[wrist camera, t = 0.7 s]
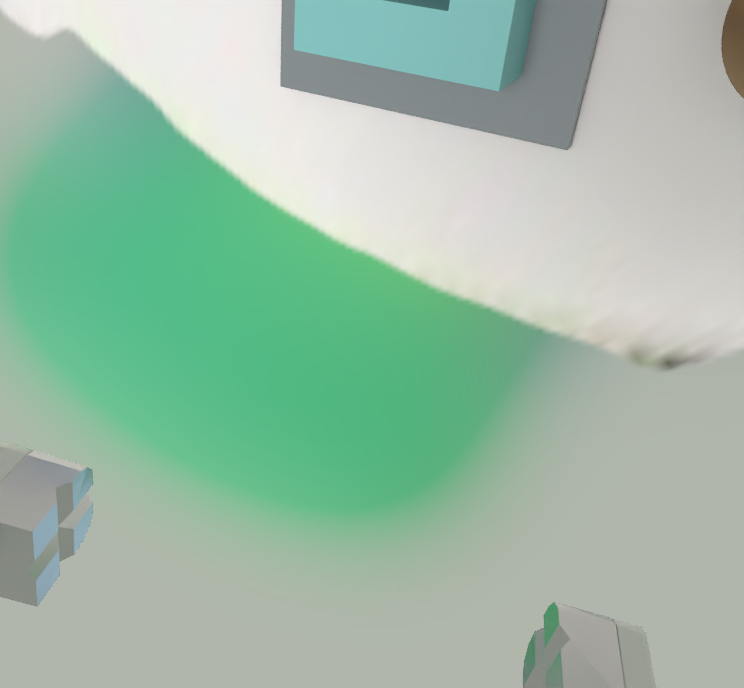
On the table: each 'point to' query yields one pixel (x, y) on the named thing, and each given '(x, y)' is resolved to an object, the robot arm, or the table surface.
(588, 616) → the robot arm
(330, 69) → the socket board
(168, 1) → the table surface
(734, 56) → the pin
